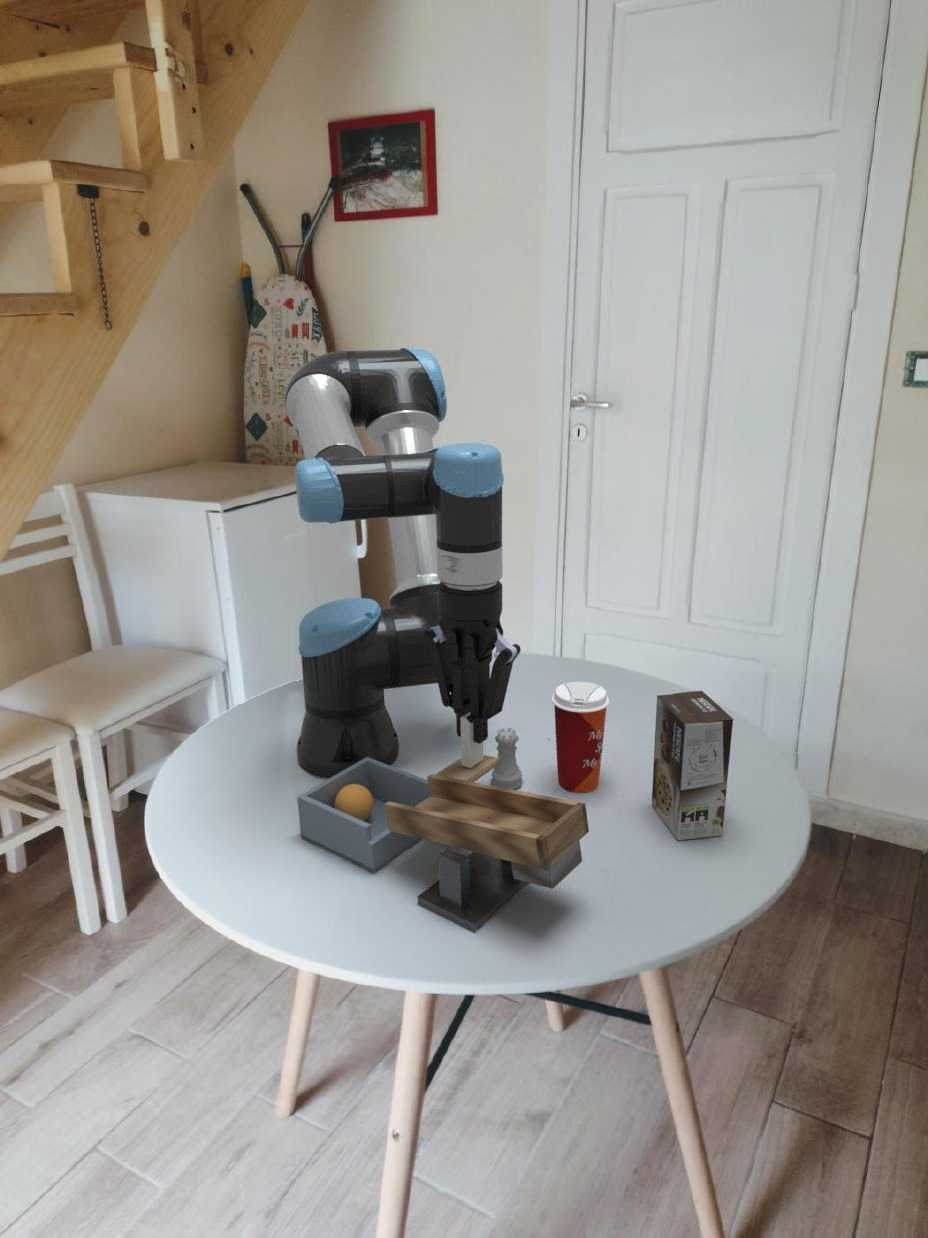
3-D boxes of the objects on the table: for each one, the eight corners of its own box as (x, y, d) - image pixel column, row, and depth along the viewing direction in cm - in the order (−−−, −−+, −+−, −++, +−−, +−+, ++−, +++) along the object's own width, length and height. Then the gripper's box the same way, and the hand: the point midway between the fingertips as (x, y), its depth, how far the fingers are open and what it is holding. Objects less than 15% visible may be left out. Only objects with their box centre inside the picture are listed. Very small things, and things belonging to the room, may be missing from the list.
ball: (320, 797, 112) (343, 791, 108) (348, 781, 115) (371, 774, 112) (336, 833, 112) (360, 827, 108) (363, 816, 115) (387, 810, 112)
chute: (622, 827, 101) (616, 776, 99) (550, 896, 89) (542, 840, 88) (472, 797, 114) (465, 752, 113) (393, 853, 103) (384, 804, 101)
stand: (417, 904, 98) (415, 850, 95) (495, 841, 109) (495, 792, 106) (474, 932, 93) (473, 876, 91) (550, 864, 104) (550, 813, 102)
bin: (301, 838, 110) (297, 796, 108) (369, 795, 120) (367, 757, 118) (374, 873, 103) (371, 830, 101) (440, 825, 112) (439, 784, 110)
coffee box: (724, 836, 109) (735, 719, 103) (676, 842, 108) (684, 724, 103) (694, 798, 117) (703, 688, 112) (649, 803, 116) (655, 693, 111)
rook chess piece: (513, 795, 119) (513, 742, 116) (485, 786, 121) (484, 734, 119) (528, 780, 123) (528, 729, 120) (500, 772, 125) (500, 722, 122)
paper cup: (604, 799, 118) (608, 705, 113) (547, 794, 119) (549, 701, 114) (607, 771, 125) (610, 681, 120) (553, 766, 126) (555, 677, 122)
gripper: (406, 579, 102) (413, 759, 110) (496, 599, 94) (497, 790, 102) (446, 564, 107) (450, 737, 115) (534, 582, 100) (532, 765, 108)
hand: (472, 762), depth 109 cm, fingers closed
